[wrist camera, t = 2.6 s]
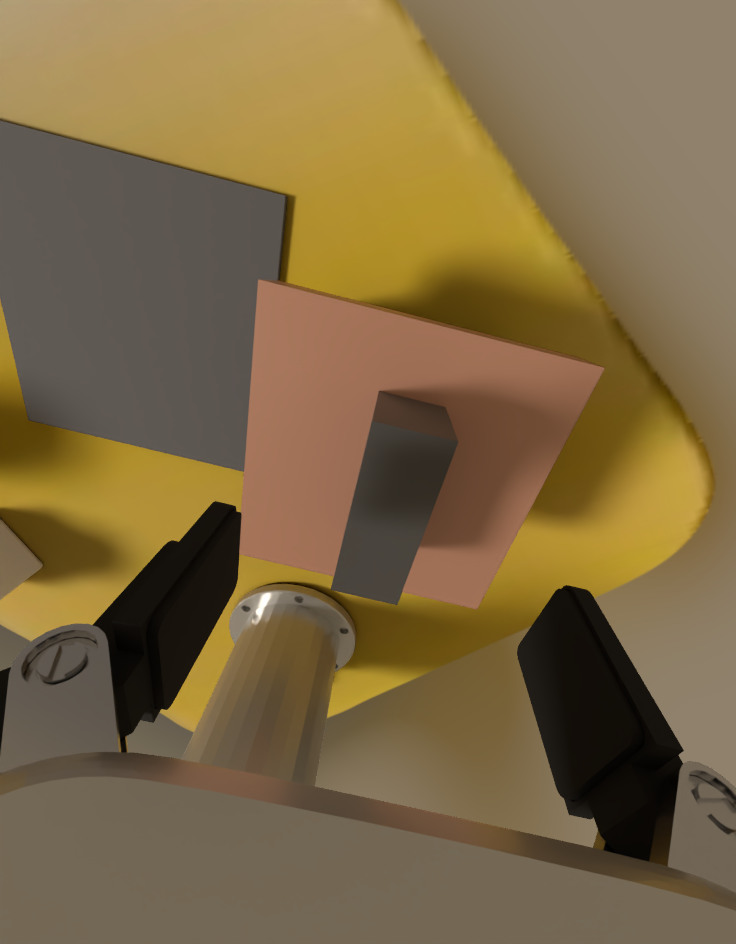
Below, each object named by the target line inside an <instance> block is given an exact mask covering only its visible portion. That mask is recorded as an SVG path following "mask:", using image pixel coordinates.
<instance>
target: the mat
mask: <svg viewBox="0 0 736 944" xmlns="http://www.w3.org/2000/svg"><path fill="white" fill-rule="evenodd" d="M286 207H287V197H286V196H285V195H281V194H277V193H273V192H270V191H266V190H262V189H258V188H254V187H251V186H247V185H243V184H239V183H235V182H232V181H228V180H224V179H220V178H216V177H213V176H209V175H205V174H201V173H197V172H194V171H190V170H186V169H182V168H178V167H175V166H171V165H167V164H163V163H159V162H156V161H152V160H148V159H144V158H141V157H137V156H133V155H129V154H125V153H122V152H118V151H114V150H110V149H106V148H103V147H99V146H95V145H91V144H87V143H84V142H80V141H76V140H72V139H68V138H65V137H61V136H57V135H53V134H49V133H46V132H42V131H38V130H34V129H30V128H27V127H23V126H19V125H15V124H11V123H8V122H4V121H0V299H1V303H2V307H3V312H4V316H5V320H6V325H7V329H8V333H9V338H10V342H11V346H12V351H13V355H14V359H15V363H16V368H17V372H18V376H19V381H20V385H21V389H22V394H23V398H24V402H25V407H26V411H27V415H28V420H30V421H34V422H38V423H43V424H47V425H51V426H55V427H59V428H64V429H68V430H72V431H76V432H80V433H84V434H89V435H93V436H97V437H101V438H105V439H110V440H114V441H118V442H122V443H126V444H130V445H135V446H139V447H143V448H147V449H151V450H156V451H160V452H164V453H168V454H172V455H176V456H181V457H185V458H189V459H193V460H197V461H201V462H206V463H210V464H214V465H218V466H222V467H227V468H231V469H235V470H239V471H243V472H244V467H245V454H246V440H247V426H248V412H249V399H250V385H251V371H252V358H253V344H254V330H255V316H256V303H257V289H258V279H262V280H278V281H279V279H280V268H281V258H282V248H283V238H284V227H285V217H286Z"/></svg>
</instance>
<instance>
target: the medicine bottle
mask: <svg viewBox="0 0 736 944" xmlns="http://www.w3.org/2000/svg"><path fill="white" fill-rule="evenodd" d="M42 567H43V564H42V562H41V561H40V560H39V559H38V558H37V557H36V556H35V555H34V554H33V553H32V552H31V551H30V550H29V549H28V548H27V546H26V545H25V544H24V543H23V542H22V541H21V540H20V539H19V538H18V537H17V536H16V535H15V534H14V533H13V532H12V530H11V529H10V528H9V527H8V526H7V525H6V524H5V523H4V522H3V521H2V520H1V519H0V600H1V599H2V598H4V597H5V596H6V595H7V594H9V593H10V592H11V591H13V590H14V589H15V588H16V587H18V586H19V585H20V584H22V583H23V582H24V581H25V580H27V579H28V578H29V577H31V576H32V575H33V574H34V573H36V572H37V571H38V570H40V569H41V568H42Z"/></svg>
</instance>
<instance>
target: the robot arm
mask: <svg viewBox="0 0 736 944" xmlns="http://www.w3.org/2000/svg"><path fill="white" fill-rule="evenodd" d="M241 518H242V514H241V513H240V512H236V507H235V506H233V505H229V504H225V503H221V502H216V501H215V502H213V503H212V504H211V505H210V506H209V508H208V509H207V510H206V511H205V512H204V513H203V514H202V516H201V517H200V518H199V519H198V520H197V521H196V523H195V524H194V525H193V526H192V527H191V528H190V530H189V531H188V532H187V533H186V534H185V535H184V537H183V538H182V539H181V540H180V541H179V542H177V541H170V542H168V543H167V544H166V545H164V546H163V548H162V549H161V550H160V551H159V552H158V553H157V554H156V555H155V556H154V557H153V559H152V560H151V561H150V562H149V563H148V564H147V565H146V566H145V567H144V569H143V570H142V571H141V572H140V573H139V574H138V575H137V576H136V577H135V579H134V580H133V581H132V582H131V583H130V584H129V585H128V586H127V587H126V589H125V590H124V591H123V592H122V593H121V594H120V595H119V596H118V597H117V598H116V600H115V601H114V602H113V603H112V604H111V605H110V606H109V607H108V608H107V610H106V611H105V612H104V613H103V614H102V615H101V616H100V617H99V618H98V620H97V621H96V622H95V623H94V624H93V625H90V624H71V625H66V626H61V627H59V628H56V629H53V630H51V631H48V632H46V633H44V634H43V635H41V636H39V637H38V638H36V639H34V640H33V641H32V642H31V643H29V644H28V645H27V646H26V647H25V648H24V649H23V650H21V652H20V653H19V655H18V656H17V657H16V659H15V660H14V661H13V664H12V667H10V668H7V669H5V670H2V671H0V944H736V788H735V787H734V786H733V785H732V784H730V783H729V782H728V781H727V780H726V779H725V778H723V776H721V775H720V774H718V773H717V772H715V771H714V770H712V769H711V768H709V767H707V766H705V765H702V764H700V763H697V762H687V763H685V764H683V763H682V761H681V759H680V757H679V756H678V755H679V754H680V753H681V752H683V751H684V750H683V749H682V747H681V745H680V743H679V742H678V740H677V738H676V737H675V735H674V733H673V731H672V730H671V728H670V726H669V725H668V723H667V721H666V720H665V718H664V716H663V715H662V713H661V711H660V710H659V708H658V706H657V704H656V703H655V701H654V699H653V698H652V696H651V694H650V692H649V691H648V689H647V687H646V686H645V684H644V682H643V681H642V679H641V677H640V675H639V674H638V672H637V670H636V669H635V667H634V665H633V664H632V662H631V660H630V659H629V657H628V655H627V654H626V652H625V650H624V648H623V647H622V645H621V643H620V642H619V640H618V638H617V636H616V635H615V633H614V631H613V630H612V628H611V626H610V625H609V623H608V621H607V619H606V618H605V616H604V614H603V613H602V611H601V609H600V608H599V606H598V604H597V602H596V601H595V599H594V597H593V596H592V594H591V593H590V592H589V591H588V590H585V589H581V588H577V587H573V586H567V585H566V586H564V587H563V588H562V589H558V590H556V591H555V593H554V594H553V596H552V597H551V599H550V600H549V602H548V603H547V604H546V606H545V607H544V609H543V610H542V612H541V613H540V615H539V616H538V618H537V619H536V621H535V622H534V623H533V625H532V626H531V628H530V629H529V631H528V632H527V634H526V635H525V637H524V638H523V640H522V641H521V642H520V644H519V646H518V651H517V655H518V660H519V663H520V667H521V670H522V673H523V677H524V680H525V684H526V687H527V690H528V693H529V697H530V700H531V704H532V707H533V711H534V714H535V717H536V721H537V724H538V727H539V731H540V734H541V738H542V741H543V744H544V748H545V751H546V754H547V758H548V761H549V764H550V768H551V771H552V775H553V778H554V781H555V785H556V788H557V790H558V792H559V794H560V796H562V797H563V798H564V800H565V803H566V806H567V810H568V813H569V815H573V816H577V817H582V818H587V819H592V818H593V817H594V819H595V822H596V825H597V827H598V832H597V835H596V839H595V842H594V846H593V848H591V847H587V846H582V845H578V844H573V843H569V842H564V841H559V840H555V839H551V838H546V837H542V836H538V835H533V834H529V833H524V832H520V831H515V830H511V829H506V828H502V827H497V826H493V825H488V824H484V823H480V822H474V821H470V820H466V819H461V818H457V817H452V816H448V815H443V814H438V813H434V812H429V811H425V810H420V809H416V808H411V807H407V806H402V805H397V804H392V803H388V802H384V801H379V800H374V799H370V798H365V797H360V796H356V795H351V794H347V793H342V792H337V791H333V790H328V789H323V788H318V787H315V782H316V776H317V770H318V765H319V759H320V753H321V748H322V741H323V736H324V730H325V724H326V719H327V713H328V707H329V702H330V696H331V690H332V684H333V679H334V673H335V671H337V670H339V669H340V668H342V667H343V666H344V665H346V663H347V662H348V661H349V660H350V659H351V657H352V655H353V653H354V649H355V643H356V630H355V626H354V623H353V621H352V619H351V617H350V616H349V614H348V613H347V612H346V611H345V609H344V608H343V607H342V606H341V605H339V604H338V603H337V602H336V601H335V600H333V599H332V598H330V597H328V596H327V595H325V594H323V593H321V592H318V591H316V590H314V589H311V588H307V587H303V586H300V585H292V584H273V585H267V586H262V587H260V588H257V589H254V590H252V591H250V592H249V593H247V594H246V595H244V596H243V597H242V598H241V599H240V600H239V601H238V603H237V605H236V607H235V608H234V610H233V612H232V615H231V617H230V623H229V629H230V634H231V637H232V639H233V641H234V643H235V646H234V648H233V650H232V652H231V654H230V657H229V659H228V661H227V663H226V665H225V667H224V669H223V672H222V674H221V676H220V678H219V680H218V682H217V684H216V687H215V689H214V691H213V693H212V695H211V697H210V699H209V702H208V704H207V706H206V708H205V710H204V712H203V714H202V717H201V719H200V721H199V723H198V725H197V727H196V729H195V732H194V734H193V736H192V738H191V740H190V742H189V745H188V747H187V749H186V751H185V753H184V755H183V757H182V759H176V758H169V757H161V756H154V755H147V754H139V753H128V746H127V737H126V736H127V735H129V734H131V733H132V732H133V731H134V730H135V728H136V726H137V725H138V723H139V721H140V720H143V721H148V722H154V721H155V719H156V717H157V715H158V713H159V712H160V710H161V709H165V710H167V709H168V708H169V707H170V706H171V705H172V703H173V701H174V700H175V698H176V696H177V694H178V692H179V690H180V689H181V687H182V685H183V683H184V681H185V679H186V678H187V676H188V674H189V672H190V670H191V668H192V667H193V665H194V663H195V661H196V659H197V658H198V656H199V654H200V652H201V650H202V648H203V647H204V645H205V643H206V641H207V639H208V637H209V636H210V634H211V632H212V630H213V628H214V627H215V625H216V623H217V621H218V619H219V617H220V616H221V614H222V612H223V610H224V608H225V606H226V605H227V603H228V601H229V599H230V597H231V596H232V594H233V592H234V590H235V587H236V584H237V580H238V565H239V550H240V534H241Z"/></svg>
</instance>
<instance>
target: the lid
mask: <svg viewBox="0 0 736 944" xmlns="http://www.w3.org/2000/svg"><path fill="white" fill-rule="evenodd" d="M604 369H605V368H604V367H601V366H599V365H596V364H594V363H591V362H589V361H586V360H583V359H581V358H578V357H575V356H571V355H567V354H563V353H559V352H555V351H551V350H547V349H543V348H540V347H536V346H532V345H528V344H524V343H520V342H516V341H512V340H508V339H504V338H501V337H497V336H493V335H489V334H485V333H481V332H477V331H473V330H469V329H465V328H461V327H458V326H454V325H450V324H446V323H442V322H438V321H434V320H430V319H426V318H422V317H418V316H415V315H411V314H407V313H403V312H399V311H395V310H391V309H387V308H383V307H379V306H376V305H372V304H368V303H364V302H360V301H356V300H352V299H348V298H344V297H340V296H336V295H333V294H329V293H325V292H321V291H317V290H313V289H309V288H305V287H301V286H297V285H294V284H290V283H286V282H282V281H278V280H262V279H258V289H257V303H256V316H255V330H254V344H253V358H252V371H251V385H250V399H249V412H248V426H247V440H246V454H245V467H244V481H243V495H242V508H241V514H242V518H241V534H240V550H239V554H240V555H245V556H249V557H253V558H258V559H262V560H266V561H271V562H275V563H279V564H284V565H288V566H292V567H297V568H301V569H305V570H309V571H314V572H318V573H322V574H327V575H331V576H334V578H333V582H332V587H331V590H334V591H338V592H343V593H347V594H351V595H356V596H360V597H364V598H369V599H373V600H377V601H382V602H386V603H390V604H395V605H397V604H398V601H399V599H400V596H401V594H402V592H404V593H409V594H413V595H417V596H421V597H426V598H430V599H434V600H439V601H443V602H447V603H452V604H456V605H460V606H465V607H469V608H473V609H478V607H479V605H480V603H481V601H482V599H483V597H484V595H485V593H486V592H487V590H488V588H489V586H490V584H491V582H492V580H493V578H494V576H495V575H496V573H497V571H498V569H499V567H500V565H501V563H502V561H503V559H504V558H505V556H506V554H507V552H508V550H509V548H510V546H511V544H512V543H513V541H514V539H515V537H516V535H517V533H518V531H519V529H520V527H521V526H522V524H523V522H524V520H525V518H526V516H527V514H528V512H529V510H530V509H531V507H532V505H533V503H534V501H535V499H536V497H537V495H538V493H539V492H540V490H541V488H542V486H543V484H544V482H545V480H546V478H547V476H548V475H549V473H550V471H551V469H552V467H553V465H554V463H555V461H556V459H557V458H558V456H559V454H560V452H561V450H562V448H563V446H564V444H565V443H566V441H567V439H568V437H569V435H570V433H571V431H572V429H573V427H574V426H575V424H576V422H577V420H578V418H579V416H580V414H581V412H582V410H583V409H584V407H585V405H586V403H587V401H588V399H589V397H590V395H591V393H592V392H593V390H594V388H595V386H596V384H597V382H598V380H599V378H600V376H601V375H602V373H603V371H604Z"/></svg>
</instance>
